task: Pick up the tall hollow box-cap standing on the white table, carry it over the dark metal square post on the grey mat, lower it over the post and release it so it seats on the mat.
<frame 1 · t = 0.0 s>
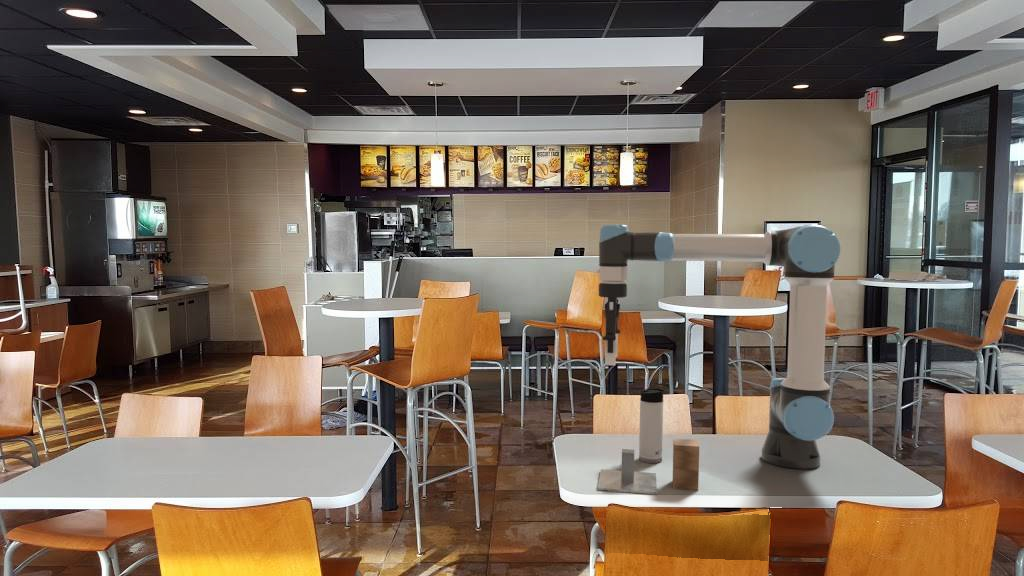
hand: (611, 361, 181), 28 cm above the table, fingers open, 13 cm apart
cap: (685, 485, 165), on the table
post: (627, 482, 167), on the table
travel mug: (651, 460, 186), on the table
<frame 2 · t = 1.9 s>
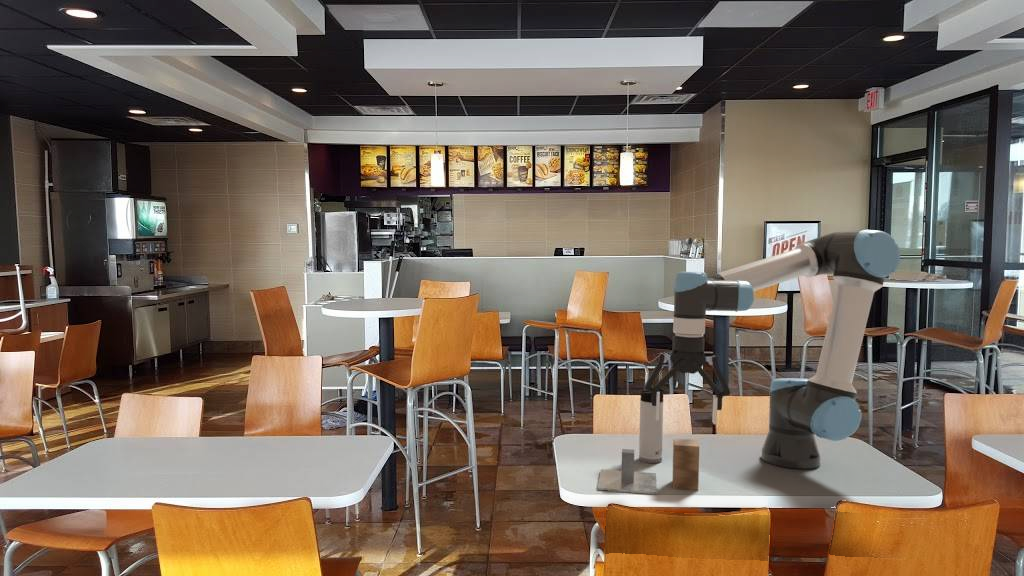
hand: (685, 421, 165), 16 cm above the table, fingers open, 13 cm apart
nothing on the table moved.
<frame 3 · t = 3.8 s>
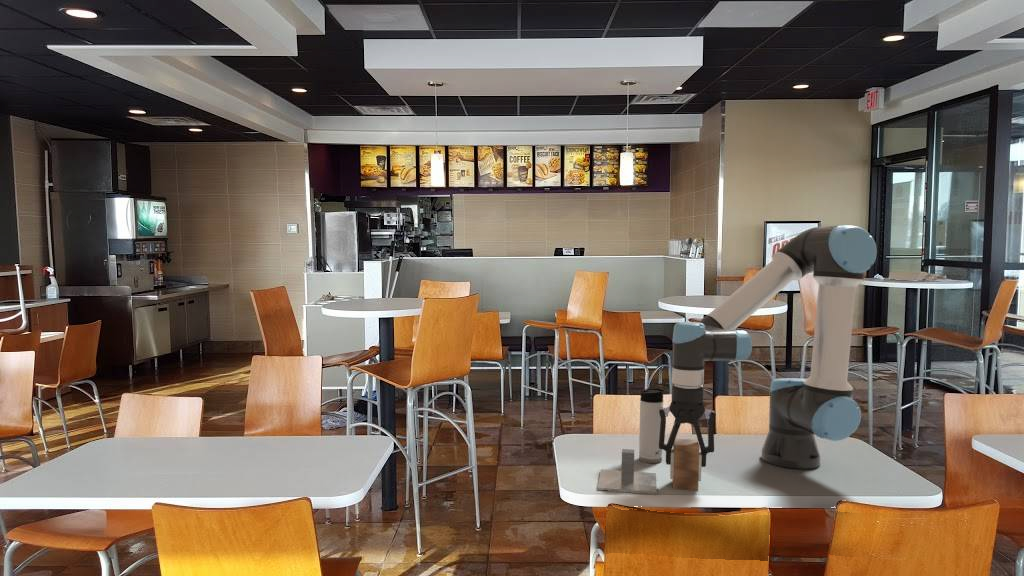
hand: (685, 478, 165), 2 cm above the table, fingers closed on cap, 6 cm apart
cap: (685, 485, 165), on the table, touching gripper
everything else where it was.
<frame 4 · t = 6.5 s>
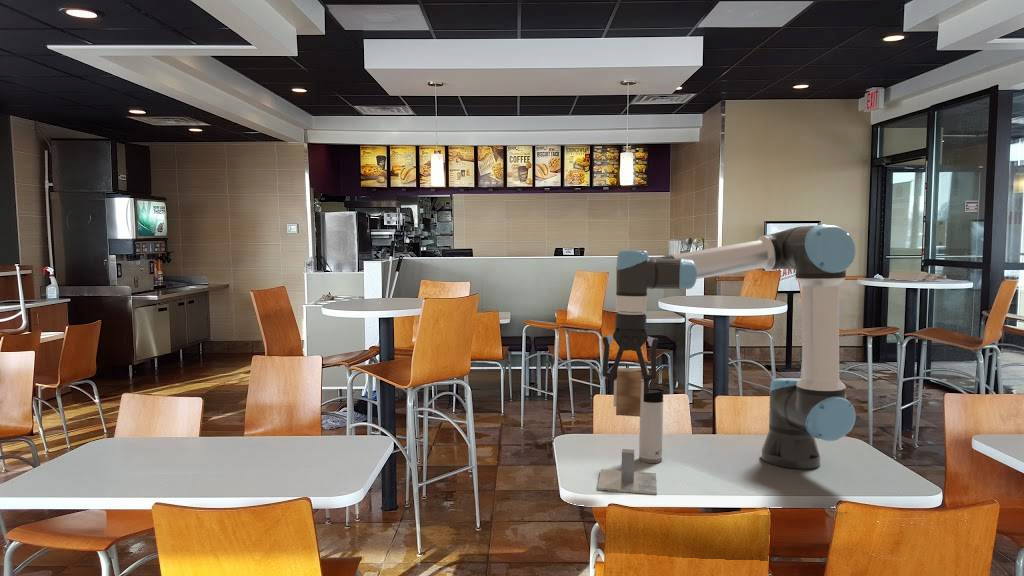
hand: (628, 405, 166), 19 cm above the table, fingers closed on cap, 6 cm apart
cap: (628, 413, 166), point 18 cm above the table, touching gripper
everything else where it was.
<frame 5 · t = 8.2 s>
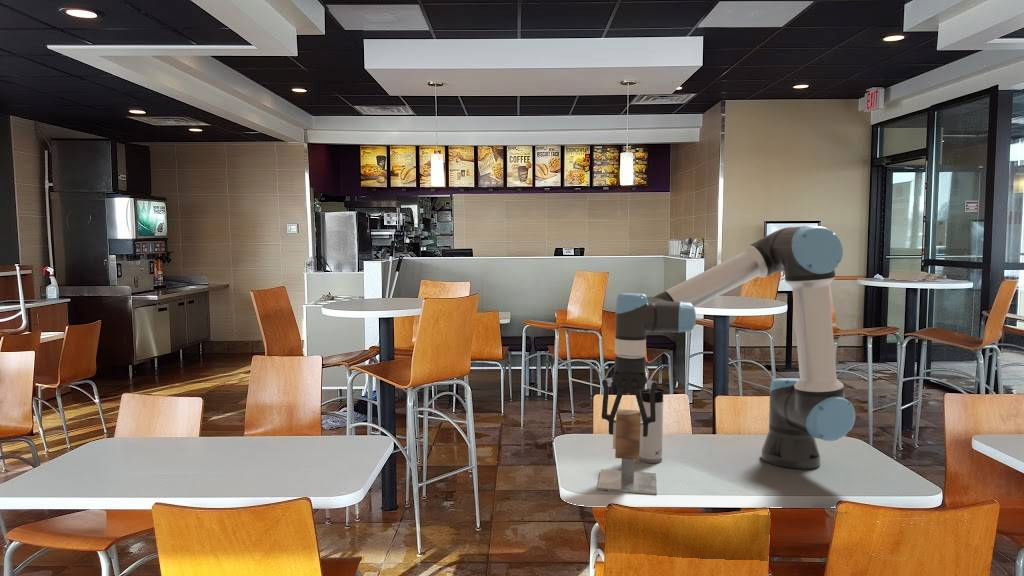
hand: (627, 448, 167), 9 cm above the table, fingers closed on cap, 6 cm apart
cap: (627, 455, 167), point 7 cm above the table, touching gripper
everything else where it was.
when the fingers open (4 cm above the table, at t = 9.5 s): cap drops 1 cm, resting on post.
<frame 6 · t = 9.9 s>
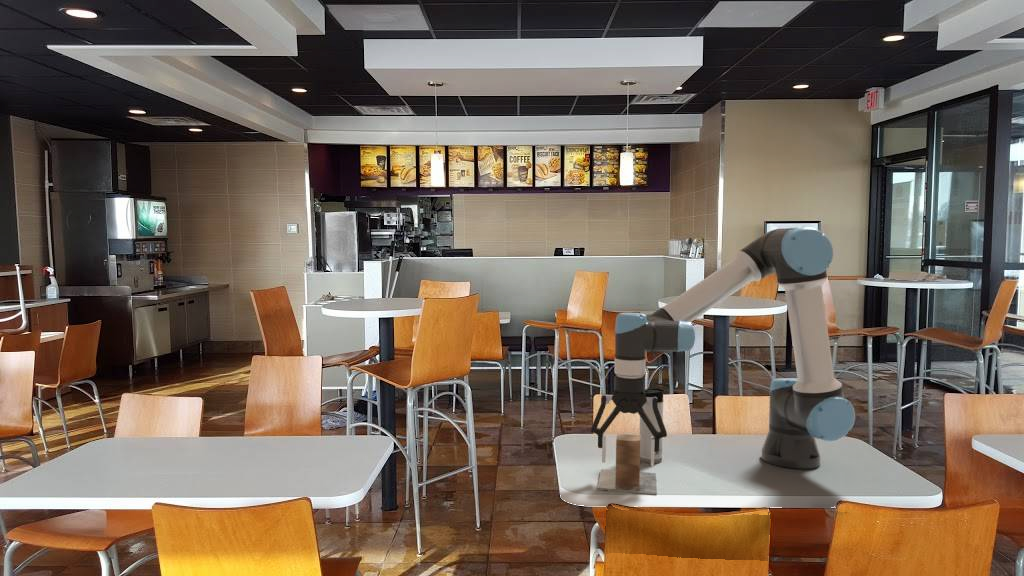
hand: (627, 462, 167), 5 cm above the table, fingers open, 11 cm apart
cap: (627, 480, 167), point 1 cm above the table, touching post
everything else where it was.
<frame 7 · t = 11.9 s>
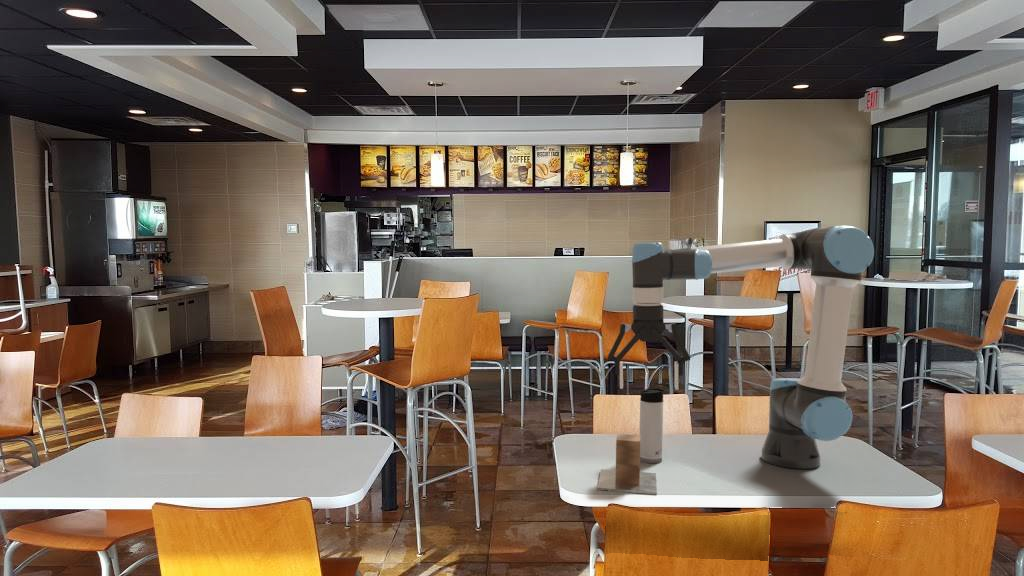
hand: (648, 388, 169), 23 cm above the table, fingers open, 13 cm apart
nothing on the table moved.
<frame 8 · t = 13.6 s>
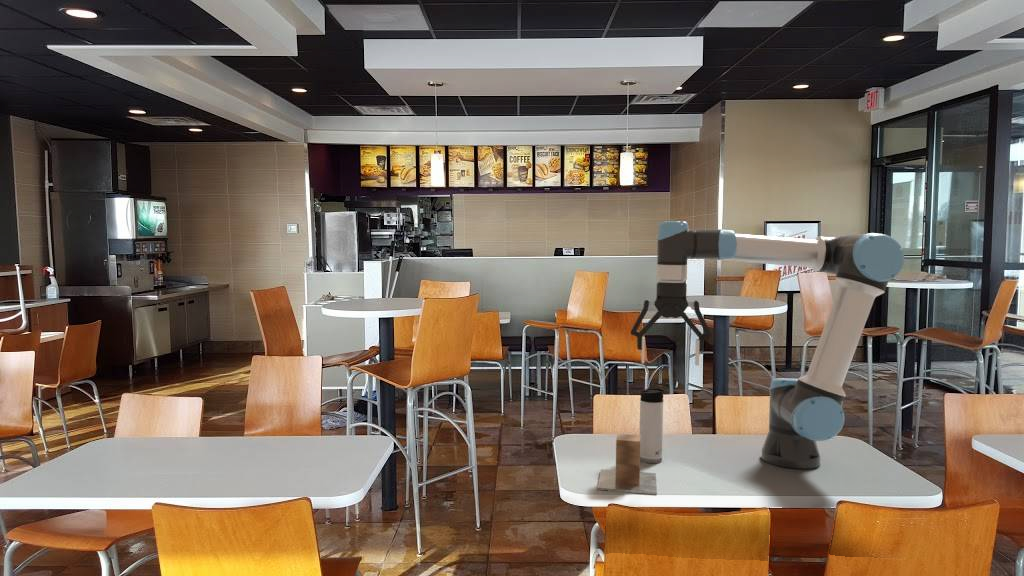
hand: (669, 363, 173), 29 cm above the table, fingers open, 13 cm apart
nothing on the table moved.
at the end: cap 0.0 cm from the post (horizontally); cap point 0.6 cm above the table; the gripper is holding nothing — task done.
